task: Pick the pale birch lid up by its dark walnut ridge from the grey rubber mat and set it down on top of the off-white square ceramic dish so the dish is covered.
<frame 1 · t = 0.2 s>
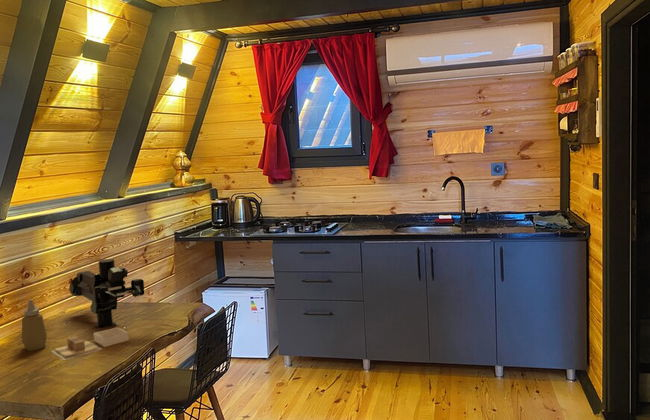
hand: (128, 295, 210), 17 cm above the table, tool horizontal, fingers open, 9 cm apart
mat: (76, 351, 203), on the table
lid: (76, 350, 203), resting on mat
squeeze bottle: (35, 349, 207), on the table
dish: (111, 341, 211), on the table
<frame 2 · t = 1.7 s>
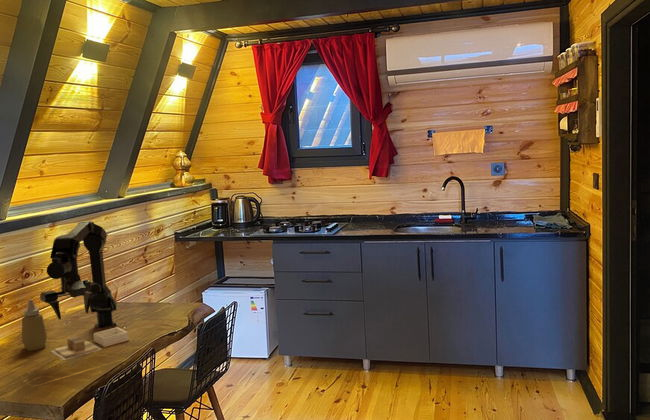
hand: (73, 316, 201), 13 cm above the table, tool pointing down, fingers open, 9 cm apart
nothing on the table moved.
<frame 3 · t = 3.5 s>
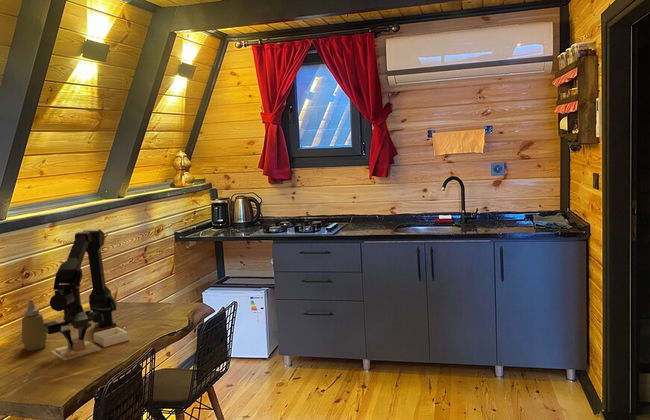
hand: (76, 345, 202), 2 cm above the table, tool pointing down, fingers closed on lid, 3 cm apart
lid: (76, 350, 203), resting on mat, touching gripper
everything else where it was.
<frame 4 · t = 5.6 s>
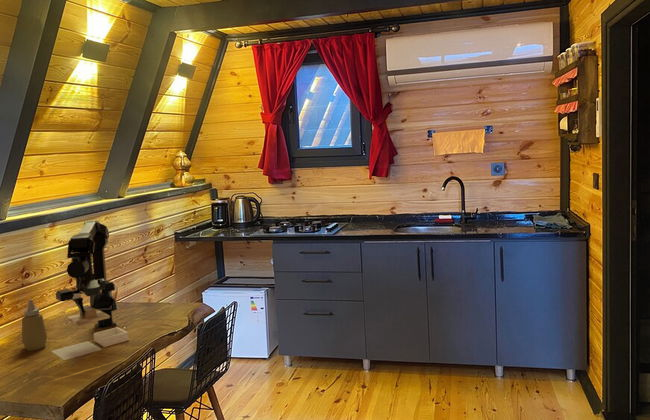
hand: (88, 314, 205), 12 cm above the table, tool pointing down, fingers closed on lid, 3 cm apart
lid: (88, 318, 205), point 11 cm above the table, touching gripper
everything else where it was.
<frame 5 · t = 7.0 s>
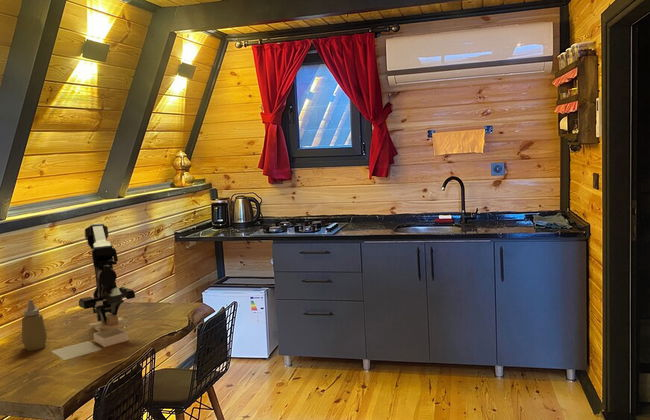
hand: (109, 321, 210), 8 cm above the table, tool pointing down, fingers closed on lid, 3 cm apart
lid: (110, 325, 210), point 6 cm above the table, touching gripper
everything else where it was.
when the fingers open (6 cm above the table, at t = 7.9 s): lid drops 1 cm, resting on dish.
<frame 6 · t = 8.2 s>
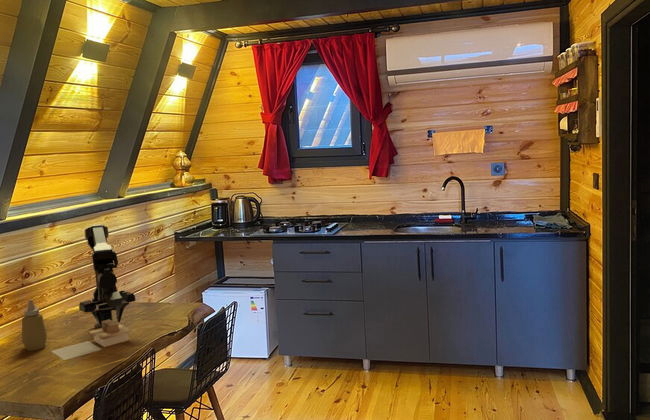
hand: (109, 324, 210), 6 cm above the table, tool pointing down, fingers open, 6 cm apart
lid: (110, 332, 211), point 3 cm above the table, touching dish
everything else where it was.
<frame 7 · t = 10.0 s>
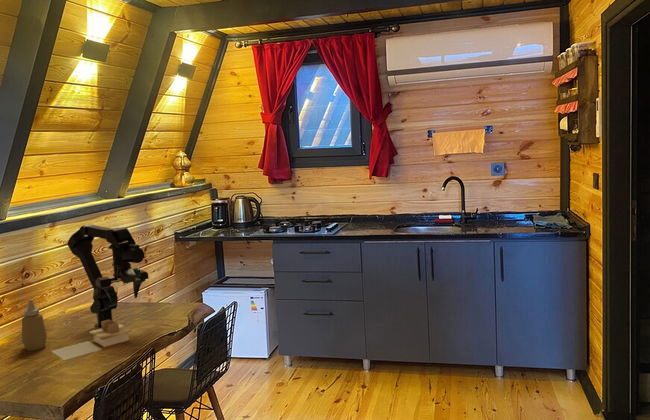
hand: (124, 300, 222), 12 cm above the table, tool pointing down, fingers open, 9 cm apart
nothing on the table moved.
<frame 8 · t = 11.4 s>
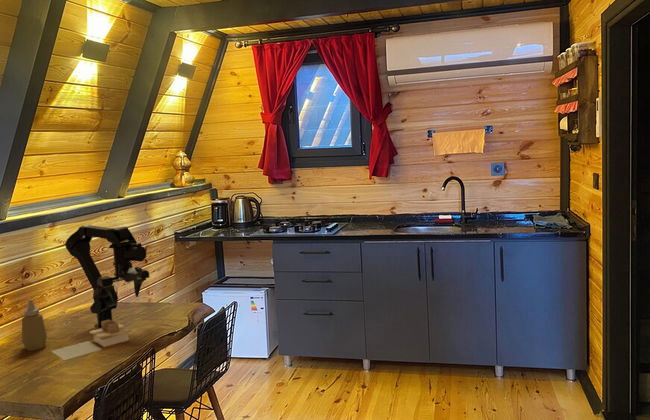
hand: (125, 299, 223), 12 cm above the table, tool pointing down, fingers open, 9 cm apart
nothing on the table moved.
at the end: lid 0.0 cm off-centre on the dish, point 3.5 cm above the dish's base; lid tilted 0°; the gripper is holding nothing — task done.
